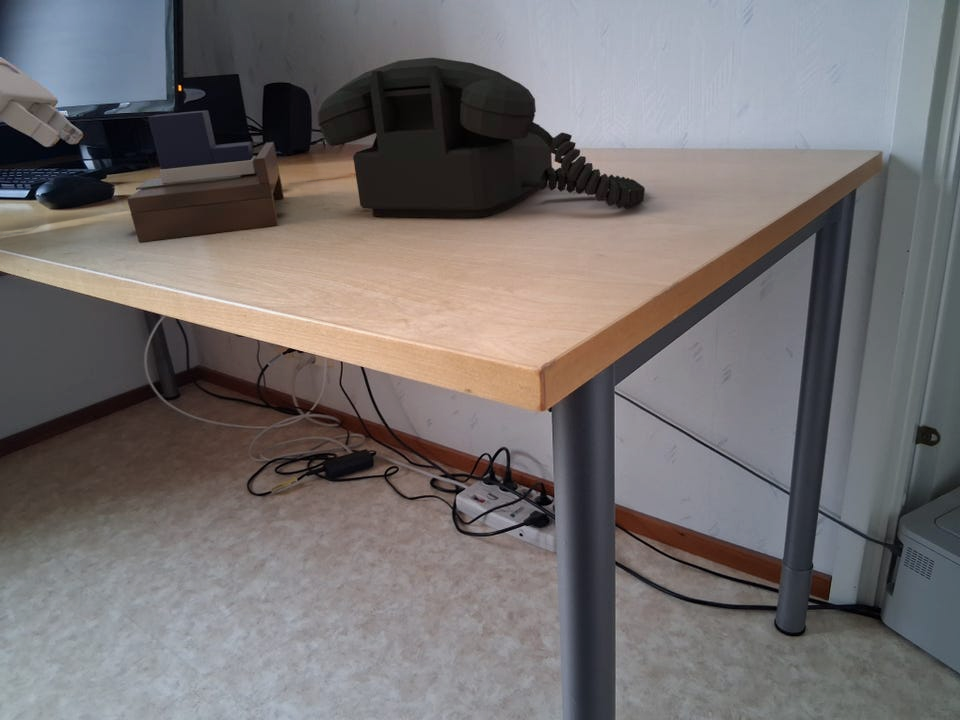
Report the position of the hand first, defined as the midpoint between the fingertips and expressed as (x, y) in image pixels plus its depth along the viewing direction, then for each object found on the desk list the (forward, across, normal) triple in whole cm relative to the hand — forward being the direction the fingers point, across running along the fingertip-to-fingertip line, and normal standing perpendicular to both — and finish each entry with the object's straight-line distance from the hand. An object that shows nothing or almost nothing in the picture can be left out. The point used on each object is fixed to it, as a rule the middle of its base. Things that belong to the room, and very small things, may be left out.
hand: (67, 141), depth 75 cm
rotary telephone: (+38, +13, +26) cm, 48 cm away
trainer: (+13, +1, +7) cm, 15 cm away
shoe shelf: (+17, 0, +4) cm, 17 cm away
